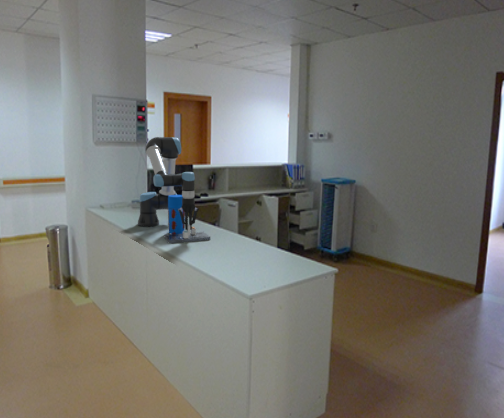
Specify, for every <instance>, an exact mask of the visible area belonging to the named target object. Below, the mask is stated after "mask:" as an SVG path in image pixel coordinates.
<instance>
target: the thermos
mask: <svg viewBox="0 0 504 418" xmlns="http://www.w3.org/2000/svg"><path fill="white" fill-rule="evenodd" d="M182 198H183V197H182V194H177V195H169V196H168V209H167V210H168V211H167V213H168V215H167V216H168V217H167V219H168V221H167V222H168V224H167V225H168V234H169V235H171V234H183V231H184V230H185V225H184V224H183V223H182V220H181V216H180V213H179V211H178V209H180V208H181V206H182ZM182 213H183V217H184V221H185V212H184V210H183V209H182Z"/></svg>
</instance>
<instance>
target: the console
mask: <svg viewBox="0 0 504 418" xmlns="http://www.w3.org/2000/svg"><path fill="white" fill-rule="evenodd" d="M163 237H164V239H165V241H167V243H168V244H179V243H180V244H182V243H191V242H205V241H211V236H210V235H209V234H207V233H206V232H204V231H199V232H197V231H196V234H191V232H190V236H188V238H185V239H184V238H183V234H164V235H163Z"/></svg>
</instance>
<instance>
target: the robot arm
mask: <svg viewBox="0 0 504 418" xmlns="http://www.w3.org/2000/svg"><path fill="white" fill-rule="evenodd" d="M144 148H145V154H146V156H147V158H149V160H150V163H151V166H152V169H153V172H154V174H153V178H152V179H153V185H154V187H157V188H158V187H159V188H161V189H160V190H159V191H158V193H157V192H156V191H147V192H143V193H141V194H140V195H139V200H138V201H139V216H138V219H137V225H138V226H139V227H156V226H159V225H160V220H159V218H158V214H157V211H160V210H168V196H169V195H178V194H177V192H176V190H175V189H174V188H175V187H181V190H182V191H181V195H182V197H183V198H182V206H181V208H180V209H178V211H179V213H180V216H181V220H182V223H183V224H184V225H185V230H186V231H187V232H188V236H190V233H191V230H192V227H193V225H195V223H196V218H197V215H198V212H199V208H198V207H196V205H195V200H196V199H195V183H196V182H195V181H196V177H195V173H194V172H193V171H185V172H182V173H177V174H176V173H175V172H176V160H177V159H178V158H179V155H181V154H182V144H181V141H180V139H179V138H178V137H173V136H170V137H169V136H168V137H166V136H162V137H161V136H155V137H153V138H151V139H149V140H148V142H147V143H146V145H145V147H144ZM182 209H183V210H184V212H185V221H184V217H183V213H182Z"/></svg>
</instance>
